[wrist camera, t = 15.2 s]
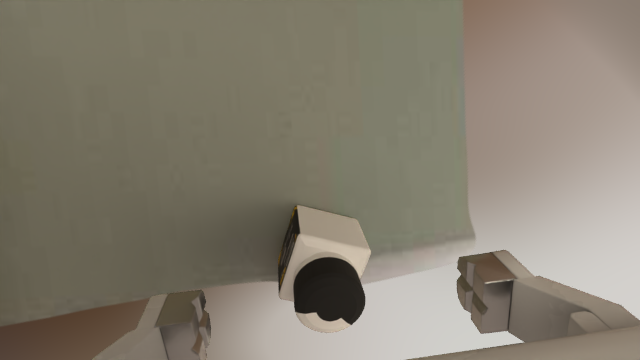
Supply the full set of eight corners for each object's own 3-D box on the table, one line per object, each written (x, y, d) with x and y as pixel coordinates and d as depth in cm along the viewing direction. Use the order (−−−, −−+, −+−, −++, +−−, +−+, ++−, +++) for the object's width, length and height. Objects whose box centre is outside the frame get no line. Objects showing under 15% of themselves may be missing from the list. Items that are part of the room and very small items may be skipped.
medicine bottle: (295, 203, 44) (302, 263, 32) (358, 218, 45) (385, 281, 34) (277, 260, 46) (278, 335, 35) (338, 273, 47) (357, 350, 36)
